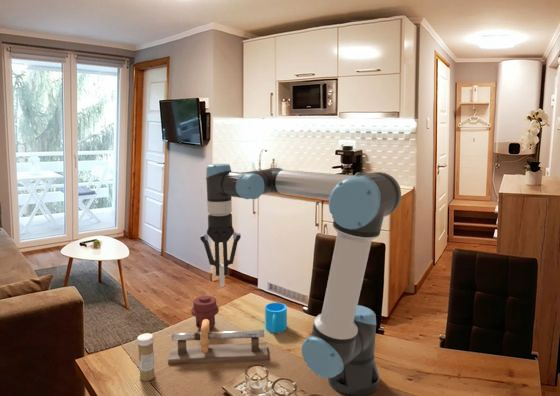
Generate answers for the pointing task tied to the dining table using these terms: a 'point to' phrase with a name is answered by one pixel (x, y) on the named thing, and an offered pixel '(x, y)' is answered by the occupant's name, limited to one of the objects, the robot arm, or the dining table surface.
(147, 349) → the sprinkles bottle
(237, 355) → the stand
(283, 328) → the mug
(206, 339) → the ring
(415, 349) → the dining table surface
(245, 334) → the rod
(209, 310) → the mechanical component
